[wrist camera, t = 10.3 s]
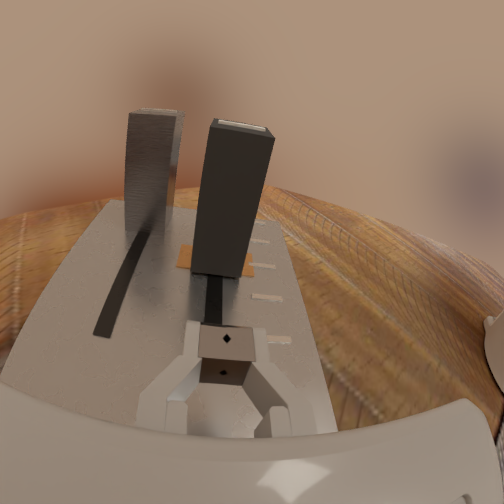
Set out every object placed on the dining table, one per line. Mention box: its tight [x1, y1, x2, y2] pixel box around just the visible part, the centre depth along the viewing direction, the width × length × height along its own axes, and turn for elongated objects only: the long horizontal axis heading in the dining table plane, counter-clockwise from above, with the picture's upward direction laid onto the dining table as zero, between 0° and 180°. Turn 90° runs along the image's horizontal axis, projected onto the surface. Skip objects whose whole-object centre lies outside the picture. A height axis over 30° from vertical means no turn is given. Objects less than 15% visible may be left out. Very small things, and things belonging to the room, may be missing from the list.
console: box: [0, 108, 338, 438], centre depth 18 cm, size 20×28×13 cm
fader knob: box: [190, 118, 275, 278], centre depth 20 cm, size 4×4×11 cm
